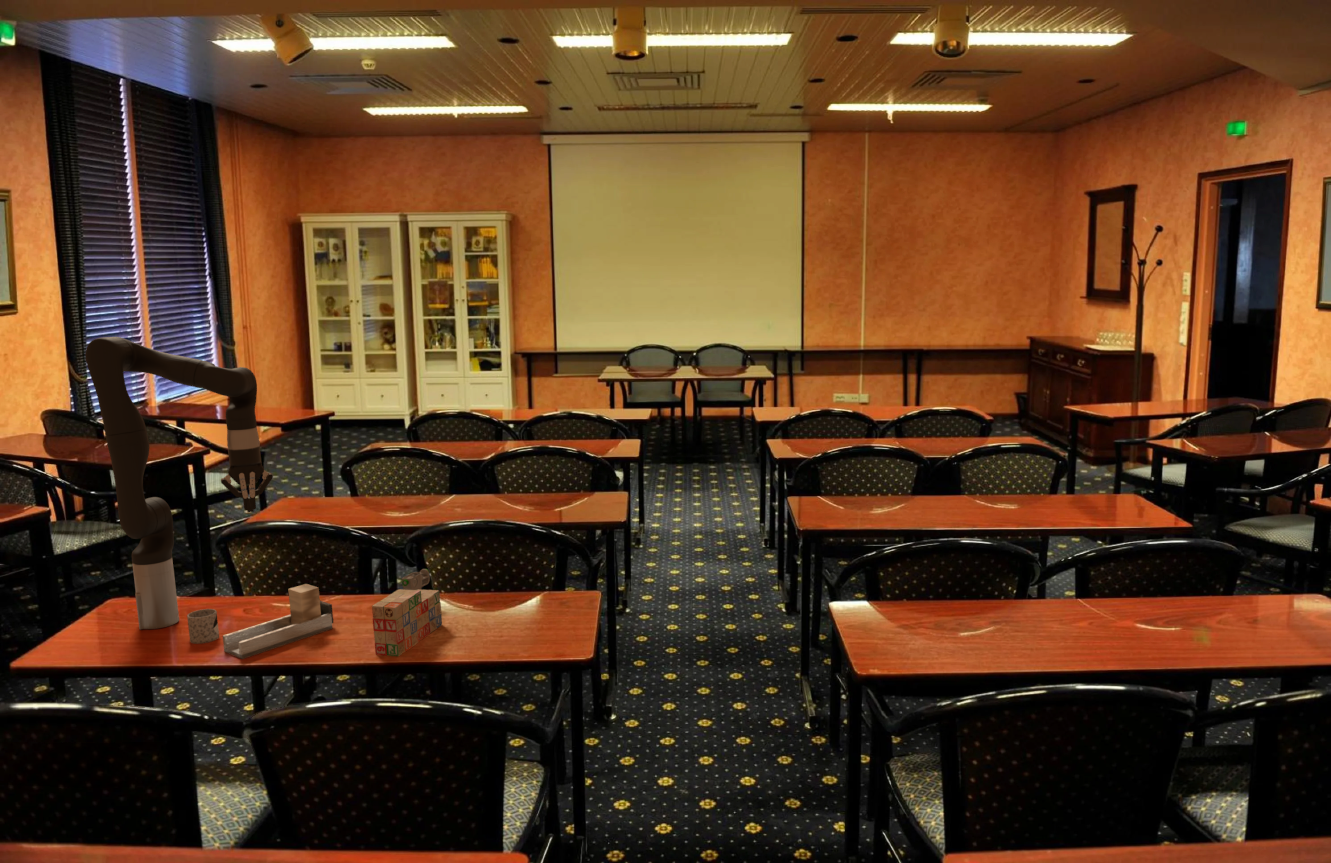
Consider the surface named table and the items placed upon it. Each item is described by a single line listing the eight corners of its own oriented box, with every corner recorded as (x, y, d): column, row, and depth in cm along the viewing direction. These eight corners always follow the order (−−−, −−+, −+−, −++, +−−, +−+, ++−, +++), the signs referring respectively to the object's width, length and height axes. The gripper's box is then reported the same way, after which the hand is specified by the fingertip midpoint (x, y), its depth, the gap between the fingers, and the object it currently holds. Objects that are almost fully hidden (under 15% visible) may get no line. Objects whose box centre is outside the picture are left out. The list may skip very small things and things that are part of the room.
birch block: (304, 631, 242) (300, 592, 241) (291, 626, 246) (288, 588, 244) (321, 625, 246) (318, 587, 245) (309, 621, 250) (306, 583, 248)
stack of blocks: (420, 623, 249) (417, 577, 247) (442, 625, 248) (439, 578, 246) (375, 655, 229) (371, 605, 227) (398, 657, 227) (394, 606, 225)
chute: (242, 659, 229) (239, 634, 228) (224, 651, 234) (221, 627, 233) (336, 627, 248) (334, 605, 247) (317, 621, 253) (315, 598, 252)
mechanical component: (433, 603, 264) (431, 568, 262) (412, 616, 254) (409, 579, 253) (424, 602, 265) (421, 567, 263) (402, 615, 255) (399, 578, 254)
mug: (222, 639, 242) (219, 613, 241) (193, 645, 238) (190, 620, 237) (212, 628, 250) (209, 603, 249) (184, 634, 246) (181, 609, 245)
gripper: (270, 441, 255) (276, 505, 258) (215, 446, 249) (221, 512, 252) (272, 445, 249) (278, 511, 251) (215, 450, 243) (223, 518, 246)
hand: (250, 511), depth 252 cm, fingers closed
